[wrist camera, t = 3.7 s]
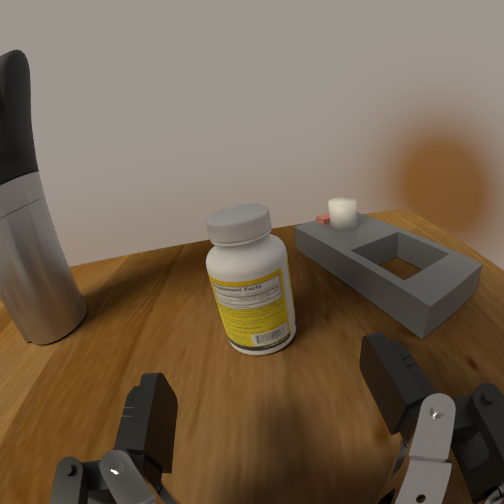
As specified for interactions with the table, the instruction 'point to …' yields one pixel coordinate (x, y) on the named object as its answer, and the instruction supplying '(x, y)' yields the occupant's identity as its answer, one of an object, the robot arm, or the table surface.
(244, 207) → the supplement bottle
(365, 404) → the table surface
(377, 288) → the grey square-hole tray
